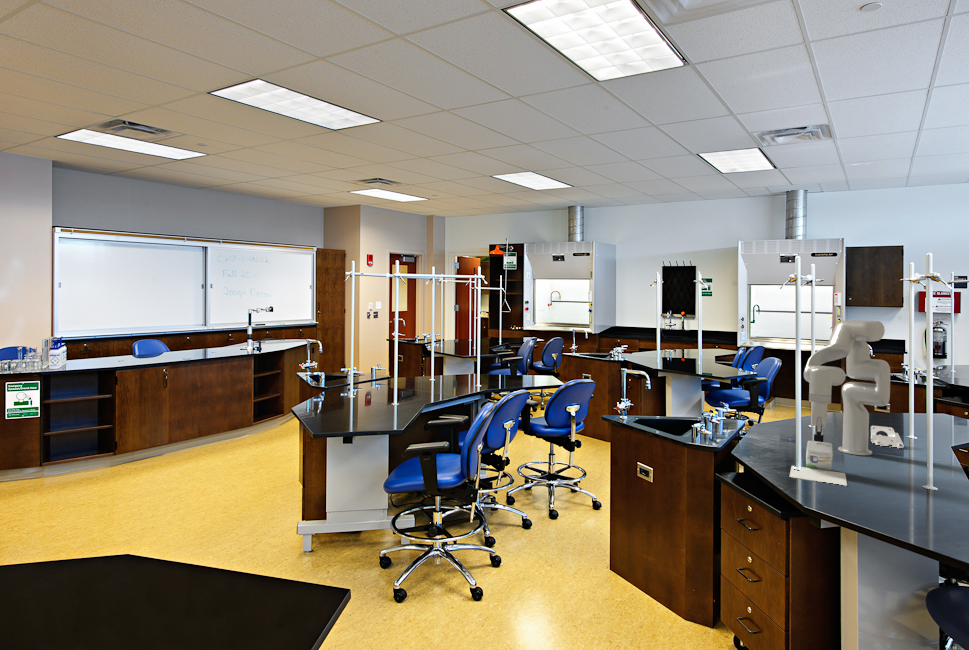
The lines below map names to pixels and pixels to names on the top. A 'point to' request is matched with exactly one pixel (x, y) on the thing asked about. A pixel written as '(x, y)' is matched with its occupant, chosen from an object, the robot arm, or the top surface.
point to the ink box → (819, 455)
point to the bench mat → (819, 475)
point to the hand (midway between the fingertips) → (818, 444)
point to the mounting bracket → (886, 437)
